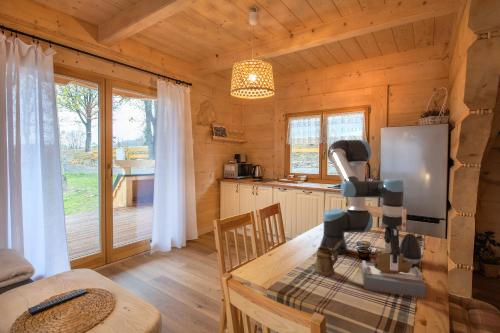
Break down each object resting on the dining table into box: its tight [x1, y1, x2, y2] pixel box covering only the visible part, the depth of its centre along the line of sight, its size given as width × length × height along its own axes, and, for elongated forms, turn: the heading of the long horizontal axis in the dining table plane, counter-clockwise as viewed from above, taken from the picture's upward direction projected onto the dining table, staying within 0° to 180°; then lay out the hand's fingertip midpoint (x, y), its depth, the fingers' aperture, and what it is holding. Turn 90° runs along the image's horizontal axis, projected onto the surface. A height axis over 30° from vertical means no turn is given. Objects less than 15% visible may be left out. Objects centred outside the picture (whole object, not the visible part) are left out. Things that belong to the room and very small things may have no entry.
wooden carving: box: [370, 249, 413, 274], centre depth 113 cm, size 16×5×10 cm, turn 83°
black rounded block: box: [399, 232, 423, 265], centre depth 136 cm, size 10×10×15 cm
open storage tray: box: [360, 260, 427, 299], centre depth 114 cm, size 22×16×7 cm
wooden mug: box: [313, 240, 343, 277], centre depth 124 cm, size 9×14×18 cm, turn 45°
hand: (390, 263), depth 114 cm, fingers open, 13 cm apart
